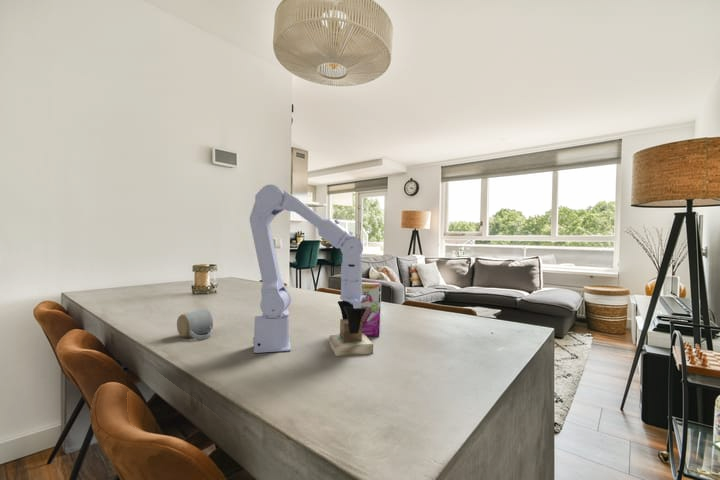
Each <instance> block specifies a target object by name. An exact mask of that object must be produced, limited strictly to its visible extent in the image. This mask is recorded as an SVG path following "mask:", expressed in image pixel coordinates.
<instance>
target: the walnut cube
mask: <svg viewBox="0 0 720 480" xmlns="http://www.w3.org/2000/svg"><path fill="white" fill-rule="evenodd" d="M339 320H340V325H339V329H340V330H339V335H340V338H341V339H342V341H343V342H356V341H362V322H361V323H360V327H359V331H358V333H356V334H350V331H349V325H348V319H343V318H341V319H339Z"/></svg>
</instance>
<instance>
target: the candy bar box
mask: <svg viewBox="0 0 720 480" xmlns="http://www.w3.org/2000/svg"><path fill="white" fill-rule="evenodd" d="M362 295H364V296H366V299H362V301H361V307H365V308H366V311H365V313H364V314H363V317H362V319H361V322H362V334H364V335H365V336H366V337H379V338H380V334H381V317H382V316H381V315H382V314H381V313H382V312H381V311H382V310H381V309H382V308H381V307H382V306H381V305H382V283H381V282H370V281H369V282H364V281H362Z"/></svg>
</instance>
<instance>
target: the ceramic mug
mask: <svg viewBox="0 0 720 480" xmlns="http://www.w3.org/2000/svg"><path fill="white" fill-rule="evenodd" d="M213 326H214V318H213V315H212V314H211V312H210V310H209V309H207V308H201V309H197V310H194V311H188V312H185V313H183V314H180V315H179V316H178V318H177V320H176V329H177V332H178V334H179V335H180V337H182V338H193V339H195V340H199V341H201V340H207V339H209V338H210V337H211V335H212V332H213Z"/></svg>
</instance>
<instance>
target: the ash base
mask: <svg viewBox="0 0 720 480" xmlns="http://www.w3.org/2000/svg"><path fill="white" fill-rule="evenodd" d="M329 346H330V348H331V350H332V351H333V352H334V353H333V354H334V355H335V357H337V356H338V357H340V356H353V355H369V354H374V343H373V342H372V341H371V340H370V339H369V338H368V336H365V335H364V334H362V341H356V342H343V341H342V339H341V338H340V334H333V335H329Z"/></svg>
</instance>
